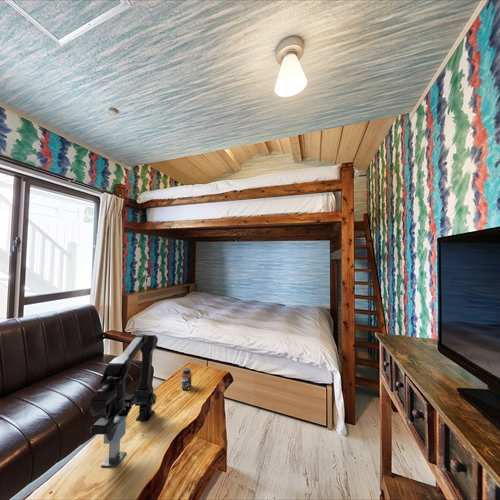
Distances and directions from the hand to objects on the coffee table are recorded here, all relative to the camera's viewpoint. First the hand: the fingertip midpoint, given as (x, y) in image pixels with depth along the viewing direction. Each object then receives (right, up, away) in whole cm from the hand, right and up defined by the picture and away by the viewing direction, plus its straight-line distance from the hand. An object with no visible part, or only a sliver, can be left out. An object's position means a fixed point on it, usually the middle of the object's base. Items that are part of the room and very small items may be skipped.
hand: (115, 434), depth 83 cm
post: (0, -9, -1) cm, 9 cm away
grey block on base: (0, -1, 0) cm, 1 cm away
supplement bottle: (+14, -13, +47) cm, 51 cm away
